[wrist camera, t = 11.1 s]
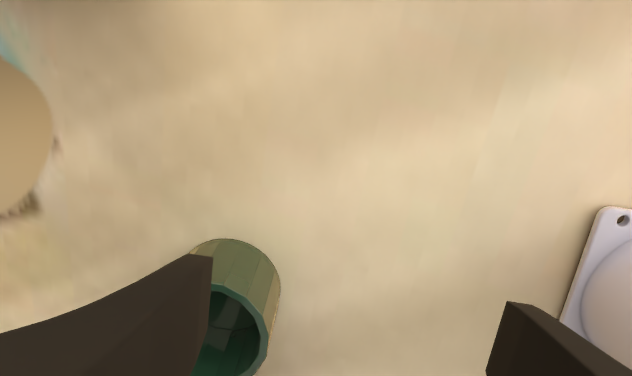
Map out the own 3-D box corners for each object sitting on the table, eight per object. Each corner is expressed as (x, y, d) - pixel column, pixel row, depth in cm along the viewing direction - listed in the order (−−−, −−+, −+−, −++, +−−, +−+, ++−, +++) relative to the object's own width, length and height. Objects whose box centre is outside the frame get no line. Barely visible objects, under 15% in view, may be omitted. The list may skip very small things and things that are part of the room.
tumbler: (286, 247, 22) (274, 292, 18) (274, 337, 24) (261, 397, 20) (180, 230, 22) (146, 273, 18) (175, 322, 24) (142, 379, 20)
